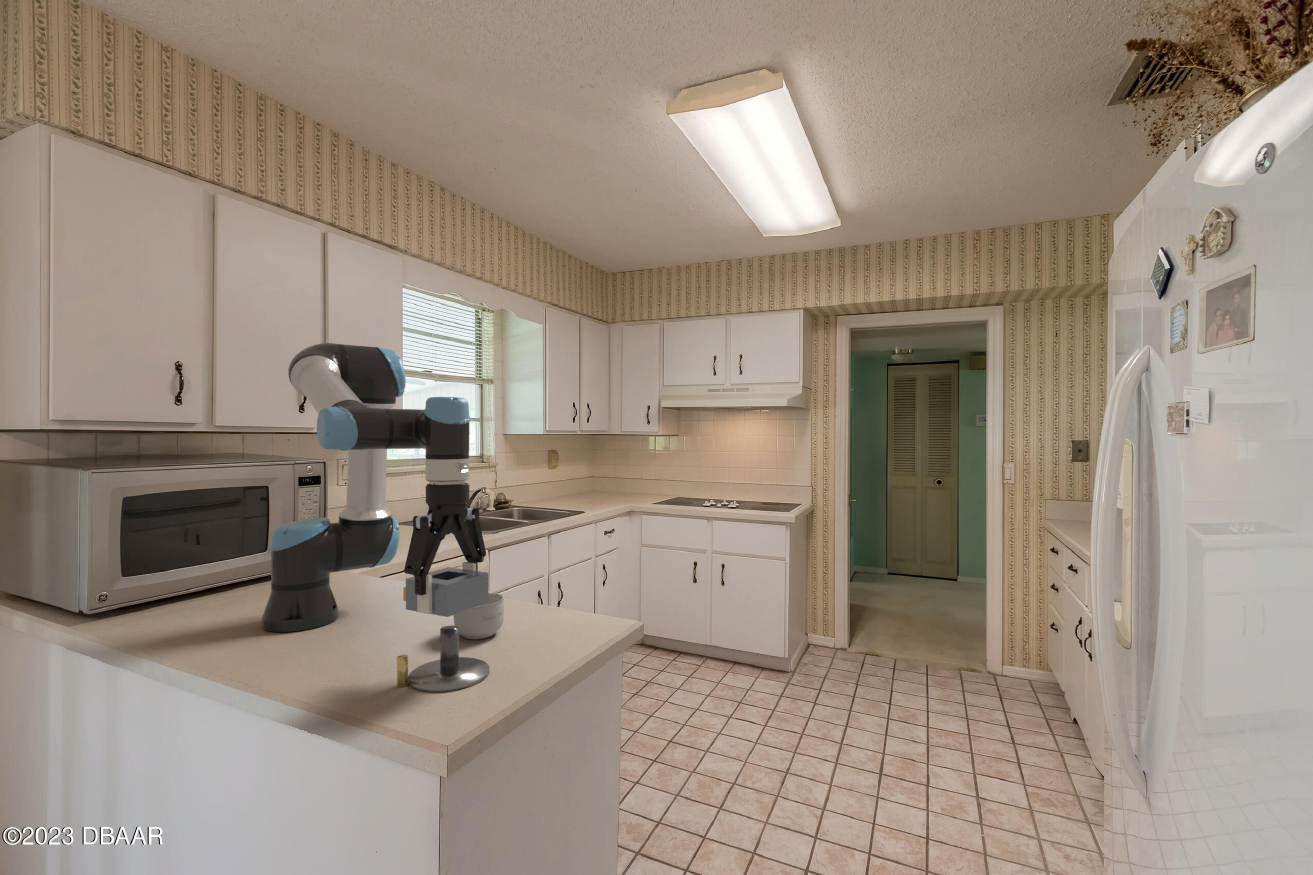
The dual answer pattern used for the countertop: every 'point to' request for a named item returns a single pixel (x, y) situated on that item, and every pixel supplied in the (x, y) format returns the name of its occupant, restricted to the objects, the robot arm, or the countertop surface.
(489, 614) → the teacup
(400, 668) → the dowel pin
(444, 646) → the rod on disc base
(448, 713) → the countertop surface
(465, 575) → the grey hollow block
